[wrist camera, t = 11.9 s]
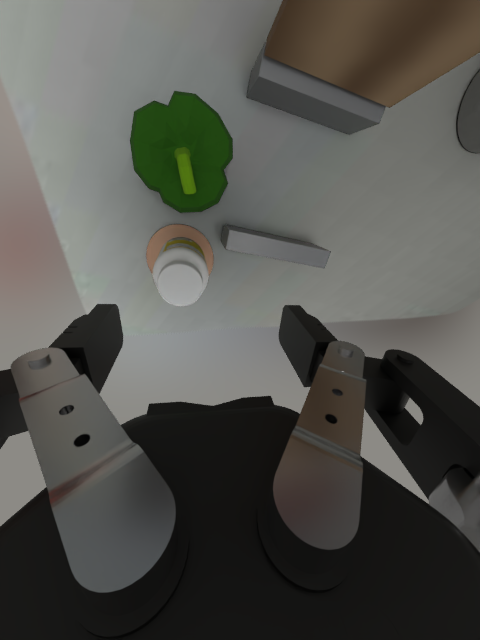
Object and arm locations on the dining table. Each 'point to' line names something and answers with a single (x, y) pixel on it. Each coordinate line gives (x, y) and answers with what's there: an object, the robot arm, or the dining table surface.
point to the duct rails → (313, 104)
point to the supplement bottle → (180, 271)
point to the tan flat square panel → (376, 42)
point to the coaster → (174, 232)
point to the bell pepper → (182, 151)
